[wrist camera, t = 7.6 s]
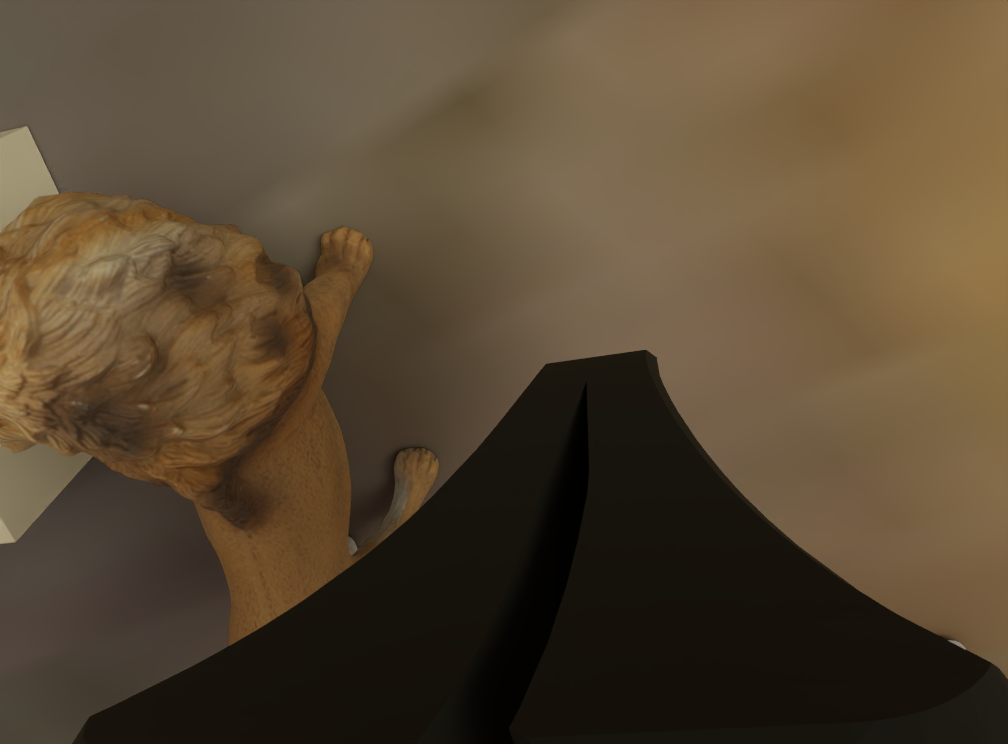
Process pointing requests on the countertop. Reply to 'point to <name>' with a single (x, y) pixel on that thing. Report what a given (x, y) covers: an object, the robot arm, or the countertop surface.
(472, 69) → the countertop surface
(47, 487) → the book row
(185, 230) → the lion figurine
